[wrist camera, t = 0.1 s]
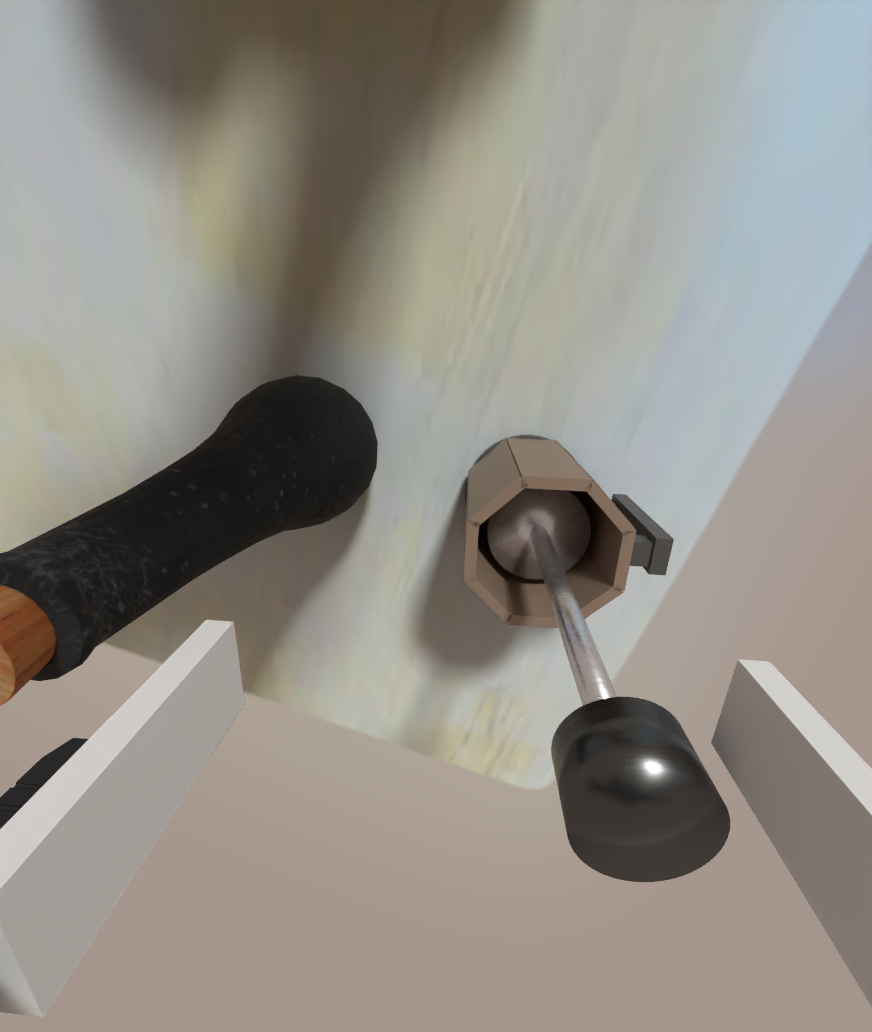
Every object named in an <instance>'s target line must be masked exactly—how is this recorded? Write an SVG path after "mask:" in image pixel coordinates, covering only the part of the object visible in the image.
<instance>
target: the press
mask: <svg viewBox="0 0 872 1032" xmlns="http://www.w3.org/2000/svg"><path fill="white" fill-rule="evenodd" d="M525 488H531V489H550V490H569V491H570V492H572V493H573V494H574V495H575V496H576V497H577V498H578V499H579V501H580V502H581V503H582V505H583V506H584V508H585V510H586V511H587V514H588V516H589V520H590V525H591V534H590V540H589V544H588V547H587V549H586V551H585V553H584V555H583V556H582V557H581V559H580V560H579V561H578V562H577V563H576V564H575V565H574V566H573V567H571V568H570V569H569V570H567V571H566V572H565V574H566V577H567V579H568V581H569V584H570V586H571V588H572V591H573V593H574V596H575V598H576V600H577V603H578V605H579V607H580V610H581V612H582V615H583V617H584V619H585V618H587V617H588V616H590V615H591V614H592V613H594V612H595V611H597V610H598V609H600V608H601V607H603V606H604V605H606V604H607V603H609V602H610V601H612V600H613V599H615V598H616V597H617V596H619V595H620V594H622V593H623V591H624V590H625V585H626V580H627V575H628V570H629V566H643V568H644V569H645V570H646V571H647V573H648V574H655V575H665V574H666V570H667V566H668V562H669V557H670V553H671V549H672V544H673V540H674V539H673V538H672V537H671V536H670V535H669V534H667V533H666V532H665V531H664V530H663V529H662V528H661V527H660V526H659V525H658V524H657V523H656V522H655V521H654V520H652V519H651V518H650V517H649V516H648V515H647V514H646V513H645V512H644V511H643V510H642V509H641V508H640V507H638V506H637V505H636V504H635V503H634V502H633V501H632V500H631V499H630V498H629V497H628V496H627V495H621V494H613V496H612V500H611V499H610V498H609V497H608V496H607V495H606V494H605V492H604V491H603V490H602V489H601V488H600V486H599V485H598V484H597V483H596V482H595V481H594V480H593V478H592V477H591V476H590V475H589V474H588V473H587V472H586V471H585V470H584V469H583V468H582V467H581V466H580V465H579V464H578V463H577V462H576V460H575V459H574V458H573V456H572V455H571V454H570V453H569V452H568V451H567V450H566V449H565V448H563V447H562V446H561V445H560V444H559V443H558V442H557V441H556V440H550V439H547V438H544V437H540V436H534V435H519V436H513V437H510V438H505V439H504V440H501V441H499V442H497V443H495V444H494V445H492V446H491V447H489V448H488V449H487V450H485V451H484V452H483V453H482V454H481V455H480V457H479V458H478V459H477V460H476V462H475V463H474V465H473V467H472V468H471V469H469V473H468V479H467V483H466V528H465V556H464V582H465V583H466V584H467V585H468V586H469V587H470V588H471V589H472V590H473V591H474V592H475V593H476V594H477V595H478V596H479V597H480V598H481V599H482V600H483V601H484V602H485V603H486V605H487V606H488V607H489V608H490V609H491V610H492V611H493V612H494V613H495V614H496V615H497V616H498V617H499V618H500V619H501V620H502V621H503V622H504V623H507V624H511V625H525V626H539V627H553V628H558V624H557V621H556V618H555V615H554V612H553V608H552V605H551V602H550V599H549V596H548V593H547V589H546V586H545V583H544V580H543V579H527V578H523V577H520V576H517V575H514V574H512V573H511V572H509V571H507V570H506V569H505V568H503V567H502V566H501V565H500V564H499V563H498V562H497V560H496V559H495V557H494V556H493V554H492V552H491V550H490V547H489V543H488V536H487V525H488V520H489V517H490V516H491V515H493V514H494V513H495V512H496V511H498V510H499V509H500V508H501V507H502V506H504V505H505V504H506V503H507V502H509V501H510V500H511V499H512V498H513V497H515V496H516V495H517V494H518V493H520V492H521V491H522V490H523V489H525Z"/></svg>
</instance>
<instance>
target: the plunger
mask: <svg viewBox="0 0 872 1032" xmlns="http://www.w3.org/2000/svg"><path fill="white" fill-rule="evenodd" d="M590 534H591V525H590V520H589V516H588V514H587V511H586V510H585V508H584V506H583V505H582V503H581V502H580V501H579V499H578V498H577V497H576V496H575V495H574V494H573V493H572V492H570V491H569V490H550V489H531V488H525V489H523V490H522V491H521V492H520V493H518V494H517V495H516V496H515V497H513V498H512V499H511V500H510V501H509V502H507V503H506V504H505V505H504V506H502V507H501V508H500V509H499V510H498V511H496V512H495V513H494V514H493V515H491V516H490V517H489V520H488V525H487V536H488V543H489V547H490V550H491V552H492V554H493V556H494V557H495V559H496V560H497V562H498V563H499V564H500V565H501V566H502V567H503V568H505V569H506V570H507V571H509V572H511V573H512V574H514V575H517V576H520V577H523V578H527V579H543V580H544V583H545V586H546V589H547V593H548V596H549V599H550V602H551V605H552V608H553V612H554V615H555V618H556V621H557V624H558V628H559V631H560V634H561V637H562V640H563V644H564V647H565V650H566V653H567V656H568V659H569V663H570V666H571V669H572V672H573V675H574V679H575V682H576V685H577V688H578V691H579V694H580V698H581V701H582V704H583V706H582V707H580V708H578V709H577V710H575V711H574V712H572V713H571V714H570V715H569V716H567V717H566V718H565V719H564V720H563V722H562V723H561V724H560V725H559V727H558V728H557V730H556V732H555V734H554V737H553V740H552V746H551V753H552V760H553V765H554V770H555V775H556V780H557V785H558V790H559V795H560V800H561V805H562V810H563V815H564V820H565V825H566V830H567V835H568V839H569V843H570V845H571V847H572V849H573V851H574V852H575V853H576V855H577V856H578V857H579V858H580V859H581V860H582V861H583V862H584V863H585V864H587V865H588V866H589V867H591V868H592V869H594V870H596V871H598V872H600V873H602V874H604V875H607V876H610V877H613V878H616V879H621V880H627V881H634V882H655V881H663V880H668V879H673V878H677V877H680V876H683V875H686V874H688V873H691V872H693V871H695V870H696V869H699V868H700V867H702V866H703V865H705V864H706V863H708V862H709V861H710V860H711V859H713V857H715V856H716V854H717V853H718V852H719V851H720V850H721V849H722V847H723V846H724V844H725V842H726V840H727V838H728V834H729V830H730V817H729V813H728V810H727V807H726V805H725V804H724V802H723V800H722V798H721V796H720V795H719V793H718V791H717V790H716V787H715V786H714V784H713V782H712V780H711V779H710V777H709V775H708V773H707V771H706V770H705V768H704V766H703V764H702V762H701V761H700V759H699V757H698V755H697V753H696V752H695V750H694V748H693V746H692V745H691V743H690V741H689V739H688V737H687V736H686V734H685V732H684V730H683V729H682V727H681V725H680V723H679V722H678V720H677V719H676V718H675V717H674V716H673V715H672V714H671V713H670V712H669V711H667V710H666V709H664V708H663V707H661V706H659V705H657V704H655V703H653V702H650V701H647V700H644V699H639V698H633V697H617V696H616V693H615V691H614V688H613V686H612V684H611V681H610V679H609V676H608V674H607V672H606V669H605V667H604V664H603V662H602V660H601V657H600V655H599V653H598V650H597V648H596V645H595V643H594V641H593V638H592V636H591V634H590V631H589V629H588V626H587V624H586V622H585V619H584V617H583V615H582V612H581V610H580V607H579V605H578V603H577V600H576V598H575V596H574V593H573V591H572V588H571V586H570V584H569V581H568V579H567V577H566V574H565V572H566V571H567V570H569V569H570V568H571V567H573V566H574V565H575V564H576V563H577V562H578V561H579V560H580V559H581V557H582V556H583V555H584V553H585V551H586V549H587V547H588V544H589V540H590Z"/></svg>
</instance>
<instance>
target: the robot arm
mask: <svg viewBox="0 0 872 1032" xmlns="http://www.w3.org/2000/svg"><path fill="white" fill-rule="evenodd" d="M244 704H245V701H244V693H243V686H242V679H241V671H240V664H239V657H238V649H237V642H236V635H235V627H234V622H230V621H217V620H205V621H204V622H203V623H202V624H201V626H200V627H199V628H198V629H197V630H196V631H195V632H194V633H193V634H192V635H191V636H190V637H189V638H188V639H187V640H186V641H185V642H184V643H183V644H182V645H181V646H180V647H179V648H178V649H177V650H176V651H175V652H174V653H173V654H172V655H171V656H170V657H169V658H168V659H167V660H166V661H165V662H164V663H163V664H162V665H161V666H160V667H159V668H158V669H157V670H156V671H155V672H154V673H153V674H152V675H151V676H150V677H149V678H148V680H147V681H146V682H145V683H144V684H143V685H142V686H141V687H140V688H139V689H138V690H137V691H136V692H135V693H134V694H133V695H132V696H131V697H130V698H129V699H128V700H127V701H126V702H125V703H124V704H123V705H122V706H121V707H120V708H119V709H118V710H117V711H116V712H115V713H114V714H113V715H112V716H111V717H110V718H109V719H108V720H107V721H106V722H105V723H104V724H103V725H102V726H101V727H100V728H99V729H98V730H97V731H96V732H95V734H93V736H92V737H91V738H90V739H80V738H72V739H71V740H69V741H68V742H66V743H65V744H63V745H62V746H60V747H58V748H57V749H55V750H54V751H52V752H50V753H49V754H47V755H46V756H44V757H43V758H41V759H40V760H39V761H38V762H37V763H36V764H35V765H34V766H33V767H32V768H31V769H30V770H29V771H28V772H27V773H26V774H25V775H23V776H22V777H21V778H20V779H19V780H18V781H17V782H16V785H15V787H14V788H10V789H9V790H8V791H7V792H6V793H5V794H3V795H2V796H1V797H0V1012H5V1013H13V1014H22V1015H29V1016H37V1017H44V1016H45V1014H46V1013H47V1011H48V1009H49V1008H50V1006H51V1005H52V1003H53V1002H54V1000H55V999H56V997H57V995H58V994H59V992H60V991H61V989H62V988H63V986H64V985H65V983H66V981H67V980H68V978H69V977H70V975H71V974H72V972H73V971H74V969H75V967H76V966H77V964H78V962H79V961H80V960H81V958H82V956H83V955H84V953H85V952H86V950H87V949H88V947H89V946H90V944H91V942H92V941H93V939H94V938H95V936H96V935H97V933H98V932H99V930H100V928H101V927H102V925H103V924H104V922H105V921H106V919H107V917H108V916H109V914H110V913H111V911H112V910H113V908H114V906H115V905H116V903H117V902H118V900H119V899H120V897H121V896H122V894H123V892H124V891H125V889H126V888H127V886H128V885H129V883H130V882H131V880H132V879H133V877H134V875H135V874H136V872H137V871H138V869H139V867H140V866H141V864H142V863H143V861H144V860H145V858H146V856H147V855H148V853H149V852H150V850H151V849H152V847H153V846H154V844H155V842H156V841H157V839H158V838H159V836H160V835H161V833H162V832H163V830H164V829H165V827H166V825H167V824H168V822H169V821H170V819H171V818H172V816H173V815H174V813H175V811H176V810H177V808H178V807H179V805H180V804H181V802H182V800H183V799H184V797H185V796H186V794H187V793H188V791H189V790H190V788H191V786H192V785H193V783H194V782H195V780H196V779H197V777H198V776H199V774H200V772H201V771H202V769H203V768H204V766H205V765H206V763H207V762H208V760H209V758H210V757H211V755H212V754H213V752H214V750H215V749H216V747H217V746H218V744H219V743H220V741H221V740H222V738H223V737H224V735H225V733H226V732H227V730H228V729H229V727H230V726H231V724H232V723H233V721H234V719H235V718H236V716H237V715H238V713H239V712H240V710H241V709H242V707H243V705H244ZM711 743H712V744H713V746H714V748H715V750H716V751H717V753H718V755H719V756H720V758H721V760H722V761H723V763H724V765H725V766H726V768H727V770H728V771H729V773H730V774H731V776H732V778H733V779H734V781H735V782H736V784H737V786H738V787H739V789H740V791H741V793H742V794H743V796H744V797H745V799H746V801H747V802H748V804H749V806H750V807H751V809H752V811H753V812H754V814H755V815H756V817H757V819H758V820H759V822H760V824H761V825H762V827H763V828H764V830H765V832H766V834H767V835H768V837H769V839H770V840H771V842H772V843H773V845H774V847H775V848H776V850H777V852H778V853H779V855H780V857H781V858H782V860H783V862H784V863H785V865H786V867H787V868H788V870H789V871H790V873H791V875H792V876H793V878H794V880H795V881H796V883H797V885H798V886H799V888H800V889H801V891H802V893H803V894H804V896H805V898H806V899H807V901H808V903H809V904H810V906H811V908H812V909H813V911H814V912H815V914H816V916H817V917H818V919H819V921H820V922H821V924H822V926H823V927H824V929H825V931H826V932H827V934H828V935H829V937H830V939H831V940H832V942H833V944H834V945H835V947H836V949H837V950H838V952H839V954H840V955H841V957H842V958H843V960H844V962H845V963H846V965H847V967H848V968H849V970H850V971H851V973H852V975H853V977H854V978H855V980H856V982H857V983H858V985H859V986H860V988H861V990H862V991H863V993H864V995H865V996H866V998H867V1000H868V1001H869V1003H870V1004H871V1006H872V769H871V768H870V767H869V766H868V765H867V764H866V763H865V762H864V760H862V758H861V757H860V756H859V755H858V754H857V753H856V752H855V751H854V750H853V749H852V748H851V747H850V746H849V745H848V744H847V743H846V742H845V741H844V740H843V739H842V737H841V736H840V735H839V734H838V733H837V732H836V731H835V730H834V729H833V728H832V727H831V726H830V725H829V724H828V723H827V722H826V721H825V720H824V719H823V718H822V716H821V715H819V713H818V712H817V711H816V710H815V709H814V708H813V707H812V706H811V705H810V704H809V703H808V702H807V701H806V700H805V699H804V698H803V696H802V695H801V694H800V693H799V692H798V691H797V690H796V689H795V688H794V687H793V686H792V685H791V684H790V683H789V682H788V681H787V680H786V679H785V678H784V677H783V675H782V674H781V673H780V672H779V671H778V670H777V669H776V668H775V667H774V666H773V665H772V664H771V663H770V662H764V661H751V660H739V659H738V661H737V665H736V668H735V670H734V674H733V677H732V680H731V683H730V686H729V689H728V692H727V696H726V699H725V702H724V705H723V708H722V712H721V714H720V717H719V720H718V724H717V727H716V730H715V733H714V736H713V739H712V742H711Z"/></svg>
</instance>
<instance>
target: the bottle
mask: <svg viewBox="0 0 872 1032" xmlns="http://www.w3.org/2000/svg"><path fill="white" fill-rule="evenodd" d="M377 443H378V442H377V439H376V435H375V431H374V427H373V424H372V421H371V419H370V418H369V416H368V415H367V413H366V412H365V410H364V408H363V407H362V405H361V404H360V403H359V402H358V401H357V400H356V399H355V398H354V397H353V396H351V395H350V394H349V393H348V392H347V391H346V390H345V389H343V388H341V387H339V386H336V385H334V384H332V383H330V382H327V381H325V380H323V379H321V378H317V377H307V376H297V375H296V376H291V377H287V378H283V379H279V380H275V381H271V382H267V383H265V384H262V385H260V386H259V387H257V388H256V389H254V390H253V391H252V392H250V393H249V394H247V395H246V396H244V397H243V398H242V399H240V400H239V401H238V402H237V403H236V404H235V405H234V406H233V407H232V409H231V410H230V411H229V412H228V414H227V415H226V417H225V418H224V420H223V421H222V422H221V424H220V425H219V427H218V428H217V430H216V431H215V432H214V433H213V434H212V435H211V436H210V437H209V438H208V439H206V440H205V441H204V442H203V443H202V444H200V445H199V446H198V447H197V448H196V449H194V450H193V451H192V452H190V453H189V454H187V455H185V456H184V457H182V458H181V459H179V460H178V461H176V462H175V463H173V464H171V465H170V466H168V467H167V468H165V469H163V470H162V471H160V472H158V473H157V474H155V475H153V476H152V477H150V478H148V479H147V480H145V481H143V482H142V483H140V484H138V485H137V486H135V487H133V488H132V489H130V490H128V491H127V492H125V493H123V494H121V495H119V496H117V497H115V498H113V499H111V500H109V501H107V502H105V503H103V504H101V505H99V506H97V507H95V508H93V509H91V510H89V511H87V512H86V513H84V514H82V515H80V516H78V517H76V518H74V519H72V520H70V521H68V522H66V523H64V524H62V525H60V526H58V527H56V528H54V529H52V530H50V531H48V532H46V533H44V534H42V535H40V536H38V537H36V538H34V539H32V540H30V541H28V542H26V543H24V544H22V545H20V546H18V547H16V548H14V549H12V550H10V551H8V552H4V553H0V706H1V705H3V704H4V703H6V702H7V701H8V700H9V699H11V697H12V696H14V695H15V693H17V692H18V691H19V690H20V689H21V688H22V687H23V686H24V685H25V684H26V683H27V682H28V681H29V680H36V681H43V680H49V679H56V678H59V677H60V676H62V675H64V674H66V673H68V672H69V671H71V670H73V669H74V668H76V667H78V666H80V665H81V664H83V662H84V661H85V660H86V659H87V658H88V656H89V655H90V654H91V652H92V651H93V649H94V648H95V647H96V646H98V645H99V644H101V643H102V642H104V641H105V640H106V639H108V638H109V637H111V636H112V635H114V634H115V633H117V632H118V631H119V630H121V629H122V628H124V627H125V626H127V625H128V624H129V623H131V622H132V621H134V620H135V619H137V618H138V617H140V616H141V615H142V614H144V613H145V612H147V611H148V610H150V609H151V608H153V607H154V606H155V605H157V604H158V603H160V602H161V601H163V600H164V599H166V598H167V597H168V596H170V595H171V594H173V593H174V592H176V591H177V590H179V589H180V588H181V587H183V586H184V585H186V584H187V583H189V582H190V581H192V580H193V579H195V578H196V577H198V576H200V575H201V574H203V573H205V572H206V571H208V570H210V569H211V568H213V567H215V566H216V565H218V564H220V563H221V562H223V561H225V560H226V559H228V558H230V557H232V556H234V555H235V554H237V553H239V552H241V551H242V550H244V549H246V548H248V547H250V546H251V545H253V544H255V543H257V542H259V541H261V540H264V539H266V538H268V537H271V536H273V535H275V534H278V533H280V532H283V531H286V530H294V529H299V528H304V527H309V526H314V525H318V524H321V523H324V522H326V521H329V520H330V519H332V518H334V517H336V516H337V515H339V514H341V513H343V512H344V511H346V510H347V509H349V508H350V507H351V506H352V505H353V504H354V503H355V502H356V501H357V500H358V498H359V497H360V496H361V495H362V494H363V493H364V491H365V490H366V489H367V488H368V487H369V485H370V482H371V479H372V477H373V474H374V472H375V469H376V464H377Z"/></svg>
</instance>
